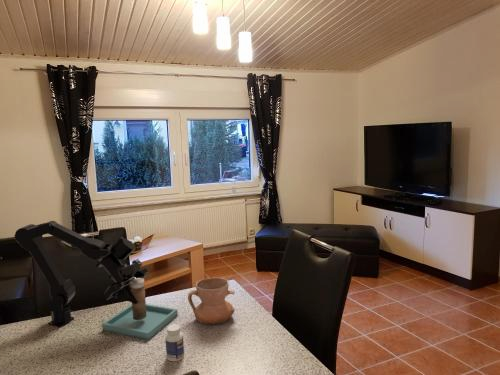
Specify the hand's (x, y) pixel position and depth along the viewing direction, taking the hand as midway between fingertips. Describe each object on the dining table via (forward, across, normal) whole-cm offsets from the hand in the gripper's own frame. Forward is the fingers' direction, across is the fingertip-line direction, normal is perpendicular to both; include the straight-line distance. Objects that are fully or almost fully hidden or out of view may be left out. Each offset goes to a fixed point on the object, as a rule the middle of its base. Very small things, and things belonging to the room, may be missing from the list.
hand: (141, 300), depth 131 cm
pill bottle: (+23, -13, -9) cm, 28 cm away
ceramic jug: (+23, +12, -9) cm, 27 cm away
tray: (+6, +1, +8) cm, 9 cm away
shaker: (+4, 0, +6) cm, 7 cm away
